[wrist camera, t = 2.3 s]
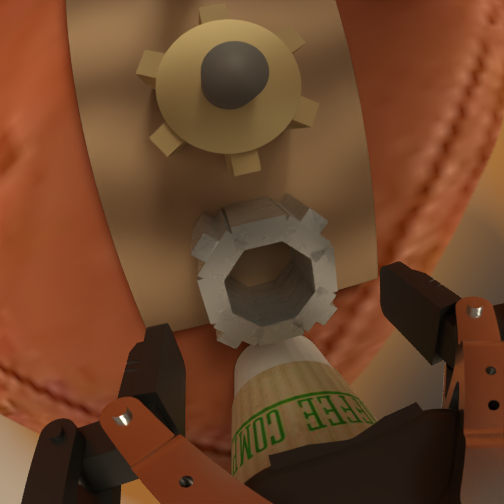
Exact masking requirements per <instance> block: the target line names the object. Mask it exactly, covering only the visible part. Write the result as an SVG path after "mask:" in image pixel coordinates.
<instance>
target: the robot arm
mask: <svg viewBox="0 0 504 504" xmlns="http://www.w3.org/2000/svg"><path fill="white" fill-rule="evenodd" d="M380 303H381V309H382V312H383V314H384V316H385V317H386V318H387V319H388V320H389V321H390V322H391V323H392V324H393V325H394V326H395V327H396V328H397V329H398V330H399V331H400V332H401V333H402V335H403V336H404V337H405V338H406V339H407V340H408V341H409V342H410V343H411V344H412V345H413V346H414V347H415V348H416V349H417V350H418V351H419V352H420V354H421V355H423V357H425V359H426V360H427V361H428V362H429V363H430V364H431V365H434V364H436V363H438V362H440V361H442V360H444V361H445V362H446V364H445V367H444V384H443V399H442V409H431V410H424V411H423V410H422V409H421V408H420V407H419V405H418V404H417V403H416V402H415V403H413V404H411V405H409V406H407V407H405V408H403V409H401V410H398V411H396V412H394V413H392V414H390V415H387V416H385V417H383V418H382V419H380V420H379V421H378V422H376V423H375V424H373V425H372V426H370V427H369V428H367V429H366V430H364V431H363V432H361V433H360V434H358V435H357V436H355V437H354V438H351V439H348V440H342V441H335V442H327V443H318V444H308V445H305V446H301V447H298V448H294V449H291V450H287V451H283V452H280V453H276V454H272V455H268V456H269V460H270V464H271V466H269V467H267V468H265V469H263V470H261V471H260V472H258V473H256V474H255V475H253V476H252V477H251V478H249V479H248V480H247V481H246V482H245V483H244V484H243V483H242V482H240V481H239V480H237V479H236V478H235V477H233V476H232V475H231V474H229V473H228V472H227V471H225V470H224V469H223V468H221V467H220V466H219V465H217V464H216V463H215V462H214V461H212V460H211V459H210V458H209V457H207V456H206V455H205V454H204V453H202V452H201V451H200V450H199V449H198V448H196V447H195V446H194V445H193V444H192V443H190V442H189V441H188V440H187V439H186V438H185V380H186V371H185V365H184V361H183V358H182V355H181V353H180V350H179V348H178V345H177V343H176V340H175V338H174V335H173V333H172V330H171V328H170V326H169V324H168V323H164V324H159V325H155V326H150V327H147V329H146V334H145V338H144V342H140V343H137V344H136V345H135V346H134V348H133V349H132V350H131V351H130V353H129V356H128V360H127V364H126V367H125V372H124V375H123V379H122V383H121V387H120V391H119V395H118V399H116V400H114V401H112V402H110V403H109V404H108V405H106V406H105V408H104V409H103V410H102V412H101V414H100V418H99V421H97V422H95V423H92V424H89V425H86V426H83V427H80V428H77V426H76V425H75V424H74V423H73V422H72V421H71V420H69V419H65V418H62V419H57V420H54V421H52V422H51V423H49V424H48V425H47V426H46V427H45V428H44V429H43V430H42V432H41V434H40V436H39V440H38V443H37V446H36V449H35V452H34V456H33V459H32V463H31V467H30V470H29V474H28V477H27V482H26V485H25V489H24V494H23V498H22V502H21V504H120V497H121V484H124V483H127V482H130V481H133V480H136V479H140V480H141V481H142V483H143V484H144V485H145V486H146V487H147V489H148V490H149V491H150V492H151V493H152V494H153V495H154V496H155V498H156V499H157V500H158V501H159V502H160V503H161V504H504V303H503V304H499V305H494V306H492V304H491V303H490V302H489V301H487V300H485V299H483V298H480V297H465V298H460V297H459V296H458V295H456V294H455V293H453V292H452V291H450V290H449V289H447V288H446V287H444V286H443V285H441V284H440V283H439V282H437V281H436V280H434V279H433V278H431V277H430V276H429V275H427V274H426V273H423V272H420V271H416V270H412V269H411V268H409V267H408V266H406V265H405V264H403V263H402V262H395V263H392V264H389V265H386V266H383V267H381V269H380Z"/></svg>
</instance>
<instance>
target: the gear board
mask: <svg viewBox="0 0 504 504" xmlns="http://www.w3.org/2000/svg"><path fill="white" fill-rule="evenodd" d="M66 12H67V26H68V37H69V46H70V55H71V63H72V70H73V77H74V84H75V90H76V96H77V102H78V107H79V112H80V117H81V122H82V127H83V132H84V137H85V141H86V146H87V150H88V154H89V158H90V162H91V166H92V170H93V174H94V178H95V182H96V186H97V189H98V193H99V196H100V200H101V203H102V207H103V210H104V213H105V217H106V220H107V223H108V226H109V229H110V233H111V236H112V239H113V242H114V245H115V248H116V251H117V254H118V256H119V259H120V262H121V265H122V268H123V270H124V273H125V276H126V279H127V281H128V284H129V287H130V289H131V292H132V294H133V297H134V299H135V302H136V304H137V307H138V309H139V312H140V314H141V317H142V319H143V321H144V324H145V326H146V329H147V327H150V326H155V325H159V324H164V323H168V324H169V326H170V328H171V330H172V332H174V331H179V330H183V329H188V328H192V327H197V326H201V325H206V324H210V321H209V317H208V314H207V311H206V308H205V305H204V302H203V298H202V295H201V292H200V289H199V285H198V282H197V261H198V258H196V257H194V256H192V255H190V253H191V242H192V232H193V228H194V226H195V225H196V223H197V221H198V220H199V218H200V216H201V215H202V213H203V212H204V213H206V214H208V215H210V216H211V217H213V218H214V217H215V216H216V214H217V213H218V211H219V210H220V208H221V209H223V210H224V211H225V209H224V206H225V205H229V204H234V203H238V202H242V201H247V200H251V199H255V198H260V197H264V196H266V197H267V198H269V197H270V198H272V199H274V200H275V201H277V202H278V203H280V202H281V200H282V199H283V197H284V196H285V194H286V193H288V194H289V195H291V196H292V197H294V198H295V199H297V200H298V201H300V202H301V203H303V204H304V205H306V206H307V207H309V208H310V209H312V210H313V211H315V212H316V213H318V214H319V215H320V216H322V217H323V218H325V219H326V220H327V221H328V223H327V224H326V226H325V227H324V229H323V230H322V232H321V233H320V234H322V235H323V236H324V237H325V238H326V239H328V240H329V241H330V242H331V245H332V246H333V247H334V257H335V267H336V277H337V289H338V290H340V289H344V288H347V287H350V286H354V285H357V284H360V283H364V282H367V281H370V280H373V279H377V278H378V263H377V241H376V225H375V211H374V200H373V189H372V180H371V171H370V163H369V155H368V148H367V141H366V134H365V128H364V122H363V116H362V110H361V104H360V99H359V94H358V89H357V84H356V79H355V74H354V70H353V65H352V61H351V57H350V52H349V48H348V44H347V40H346V36H345V33H344V29H343V25H342V21H341V18H340V14H339V11H338V8H337V4H336V1H335V0H66ZM290 259H291V254H290V248H289V245H288V244H286V243H285V242H283V241H281V242H277V243H273V244H268V245H264V246H260V247H256V248H252V249H248V250H244V251H243V253H242V254H241V256H240V257H239V259H238V260H237V262H236V263H235V265H234V266H233V268H232V269H231V271H230V272H229V274H228V276H229V277H231V278H233V279H235V280H237V281H239V282H241V283H243V284H244V285H246V286H248V287H250V286H254V285H258V284H262V283H266V282H269V281H273V280H276V279H277V277H278V276H279V274H280V273H281V272H282V270H283V269H284V267H285V266H286V265H287V263H288V262H289V260H290Z"/></svg>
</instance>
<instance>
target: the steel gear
mask: <svg viewBox="0 0 504 504" xmlns="http://www.w3.org/2000/svg"><path fill="white" fill-rule="evenodd" d="M224 209H225V211H224V210H223V209H221V208H220V210H219V211H218V213H217V214H216V216H215V217H214V218H213V217H211V216H210V215H208V214H206V213H204V212H203V213H202V215H201V216H200V218H199V220H198V221H197V223H196V225H195V226H194V228H193V232H192V242H191V253H190V255H192V256H194V257H196V258H198V261H197V282H198V285H199V289H200V292H201V295H202V298H203V302H204V305H205V308H206V311H207V314H208V317H209V321H210V324H213V326H214V328H215V329H216V337H217V341H219V342H221V343H223V344H225V345H228V346H230V347H232V348H234V349H237V347H238V346H239V345H240V343H241V342H242V341H244V342H246V343H248V344H251V345H253V346H255V345H256V344H257V343H258V344H259V346H263V345H267V344H271V343H274V342H278V341H282V340H286V339H289V338H293V337H296V336H300V335H304V330H305V331H307V332H308V331H309V330H310V329H311V328H312V326H313V325H314V324H315V323H316V322H318V323H320V324H322V325H325V324H326V323H327V321H328V320H329V319H330V318H331V316H332V315H333V314H334V312H335V311H336V310H337V308H336V306H335V305H334V304H333V302H332V301H333V299H334V298H335V297H336V294H335V293H334V292H337V291H338V289H337V277H336V267H335V257H334V247H333V246H332V245H331V242H330V241H329V240H328V239H326V238H325V237H324V236H323V235H322V234H320V233H321V232H322V230H323V229H324V227H325V226H326V224H327V223H328V221H327V220H326V219H325V218H323V217H322V216H320V215H319V214H318V213H316V212H315V211H313V210H312V209H310V208H309V207H307V206H306V205H304V204H303V203H301V202H300V201H298V200H297V199H295V198H294V197H292V196H291V195H289V194H288V193H286V194H285V196H284V197H283V199H282V200H281V202H280V203H278V202H277V201H275V200H274V199H272V198H270V197H269V198H267V197H266V196H264V197H260V198H255V199H251V200H247V201H242V202H238V203H234V204H229V205H225V206H224ZM281 241H283V242H285V243H286V244H288V245H289V248H290V254H291V259H290V260H289V262H288V263H287V265H286V266H285V267H284V269H283V270H282V272H281V273H280V274H279V276H278V277H277V279H276V280H273V281H269V282H266V283H262V284H258V285H254V286H250V287H248V286H246V285H244V284H243V283H241V282H239V281H237V280H235V279H233V278H231V277H229V276H228V274H229V272H230V271H231V269H232V268H233V266H234V265H235V263H236V262H237V260H238V259H239V257H240V256H241V254H242V253H243V251H244V250H248V249H252V248H256V247H260V246H264V245H268V244H273V243H277V242H281Z"/></svg>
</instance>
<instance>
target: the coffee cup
mask: <svg viewBox="0 0 504 504" xmlns="http://www.w3.org/2000/svg"><path fill="white" fill-rule="evenodd" d="M376 422H378V420H377V419H376V418H375V417H374V415H373V414H372V413H371V412H370V411H369V409H368V408H367V407H366V406H365V405H364V403H363V402H362V401H361V399H360V398H359V397H358V396H357V394H356V393H355V392H354V391H353V389H352V388H351V387H350V386H349V384H348V383H347V382H346V381H345V379H344V378H343V377H342V376H341V374H340V373H339V372H338V371H337V370H336V369H334V368H333V367H332V366H331V365H330V364H329V362H328V361H327V360H326V359H325V357H324V356H323V355H322V353H321V352H320V351H319V350H318V348H317V347H316V346H315V345H314V344H313V343H312V342H311V340H309V339H307V338H306V337H304V336H301V335H300V336H296V337H293V338H289V339H286V340H282V341H278V342H274V343H271V344H267V345H263V346H259V344H258V343H257V344H256V345H255V346H253V345H249V346H248V347H247V348H246V349H245V350H244V351H243V352H242V353H241V355H240V356H239V358H238V359H237V362H236V365H235V371H234V401H233V403H232V436H231V475H232V476H233V477H235V478H236V479H237V480H239V481H240V482H242V483H243V484H244V483H245V482H246V481H247V480H248V479H249V478H251V477H252V476H253V475H255V474H256V473H258V472H260V471H261V470H263V469H265V468H267V467H269V466H271V464H270V460H269V456H268V455H272V454H276V453H280V452H283V451H287V450H291V449H294V448H298V447H301V446H305V445H308V444H318V443H327V442H335V441H342V440H348V439H351V438H354V437H355V436H357V435H358V434H360V433H361V432H363V431H364V430H366V429H367V428H369V427H370V426H372V425H373V424H375V423H376Z"/></svg>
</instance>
